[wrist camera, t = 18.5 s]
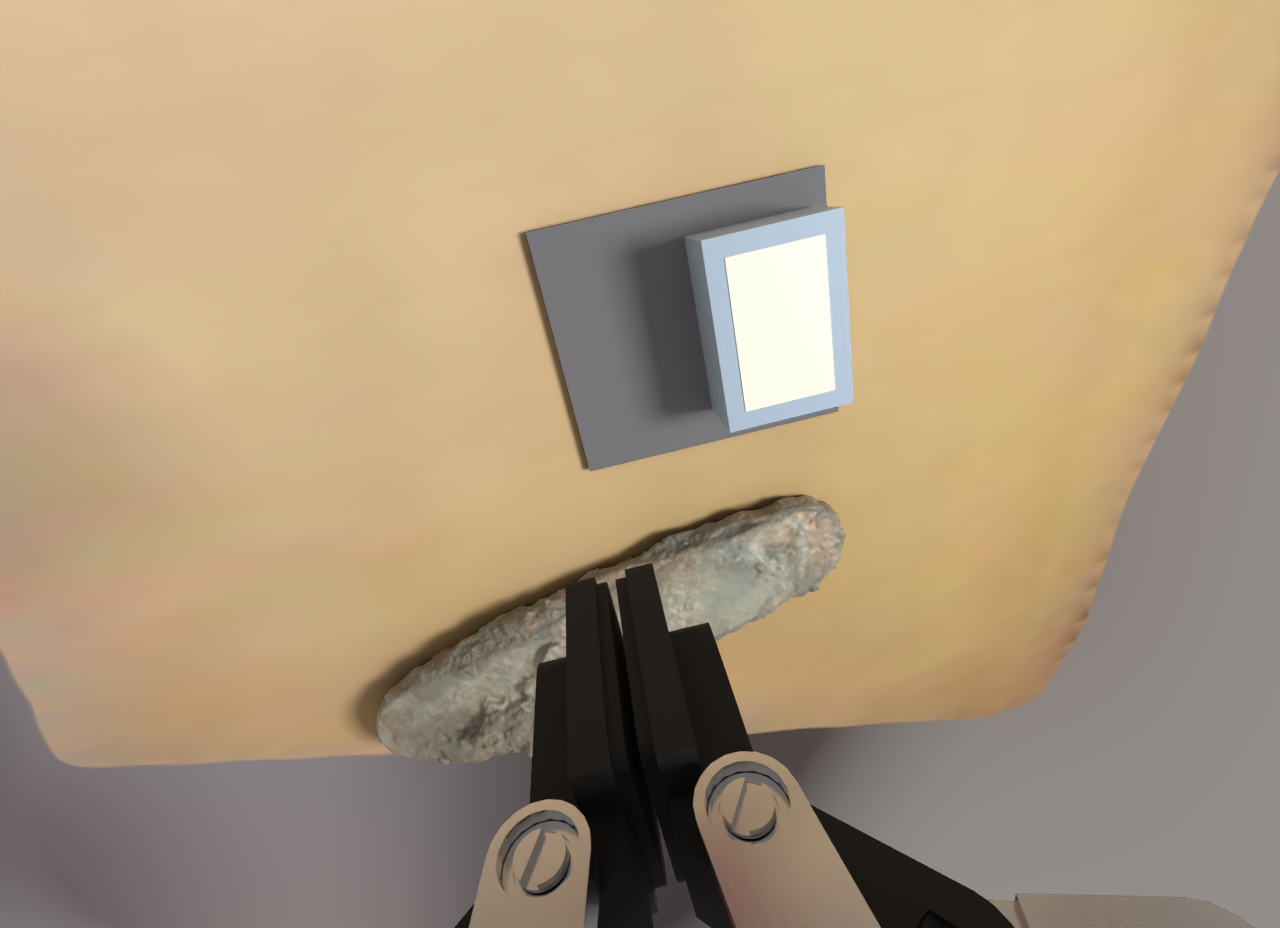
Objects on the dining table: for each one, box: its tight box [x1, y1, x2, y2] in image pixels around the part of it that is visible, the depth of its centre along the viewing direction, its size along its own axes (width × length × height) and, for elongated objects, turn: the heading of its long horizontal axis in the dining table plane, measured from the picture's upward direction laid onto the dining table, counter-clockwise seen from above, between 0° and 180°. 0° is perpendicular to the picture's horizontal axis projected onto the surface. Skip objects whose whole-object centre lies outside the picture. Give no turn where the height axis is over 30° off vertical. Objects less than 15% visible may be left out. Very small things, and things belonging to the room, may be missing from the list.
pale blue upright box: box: [684, 207, 853, 433], centre depth 31 cm, size 10×4×7 cm
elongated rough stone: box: [376, 495, 846, 765], centre depth 39 cm, size 35×5×10 cm
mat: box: [526, 165, 838, 471], centre depth 33 cm, size 14×16×1 cm
